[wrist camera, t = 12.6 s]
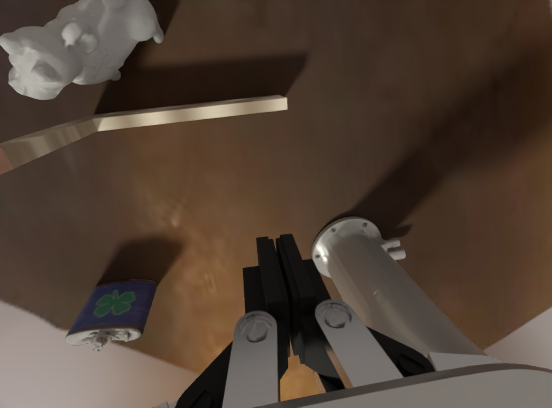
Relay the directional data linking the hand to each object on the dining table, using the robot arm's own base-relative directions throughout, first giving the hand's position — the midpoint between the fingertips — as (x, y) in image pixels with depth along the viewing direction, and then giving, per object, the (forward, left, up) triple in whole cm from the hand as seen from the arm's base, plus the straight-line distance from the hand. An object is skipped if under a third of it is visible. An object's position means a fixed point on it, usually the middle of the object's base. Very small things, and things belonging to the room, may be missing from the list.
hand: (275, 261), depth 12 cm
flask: (+22, +21, -26) cm, 40 cm away
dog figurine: (+12, -12, -26) cm, 31 cm away
